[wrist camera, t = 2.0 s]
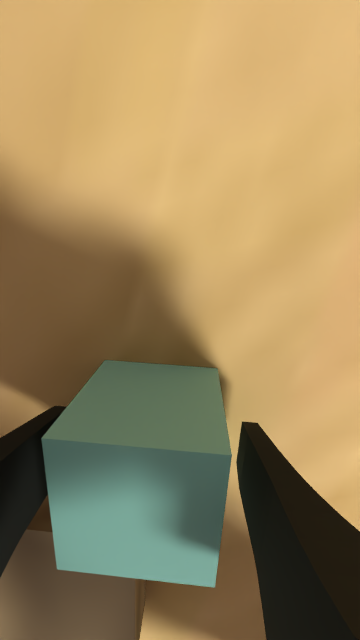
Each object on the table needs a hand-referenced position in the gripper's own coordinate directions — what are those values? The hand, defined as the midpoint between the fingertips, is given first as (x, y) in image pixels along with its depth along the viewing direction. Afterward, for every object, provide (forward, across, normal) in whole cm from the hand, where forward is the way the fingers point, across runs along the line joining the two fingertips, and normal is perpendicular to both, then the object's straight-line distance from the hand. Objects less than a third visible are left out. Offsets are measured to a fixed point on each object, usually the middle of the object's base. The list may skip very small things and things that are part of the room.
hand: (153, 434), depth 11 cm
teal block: (+2, 0, 0) cm, 2 cm away
